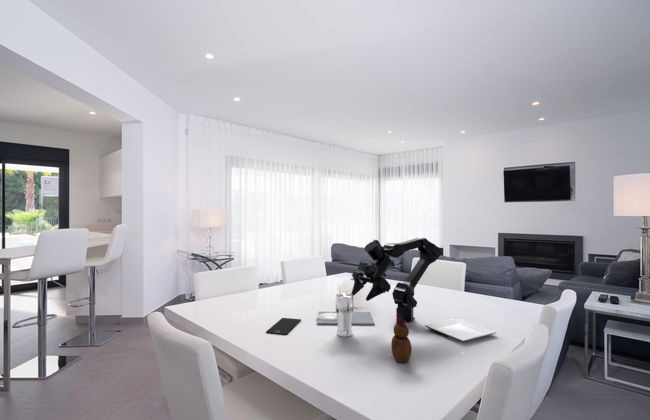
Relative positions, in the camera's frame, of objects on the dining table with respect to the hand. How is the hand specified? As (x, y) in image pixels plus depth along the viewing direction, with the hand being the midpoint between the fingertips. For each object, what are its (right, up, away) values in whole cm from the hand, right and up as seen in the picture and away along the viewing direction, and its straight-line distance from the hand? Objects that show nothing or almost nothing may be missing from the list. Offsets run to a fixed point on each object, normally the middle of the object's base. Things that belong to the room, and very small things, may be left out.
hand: (359, 297), depth 128 cm
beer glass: (-6, -13, -4) cm, 15 cm away
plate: (+39, -14, -2) cm, 42 cm away
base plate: (-5, -13, +14) cm, 20 cm away
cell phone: (-30, -14, +4) cm, 34 cm away
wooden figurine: (+11, -13, -27) cm, 31 cm away
